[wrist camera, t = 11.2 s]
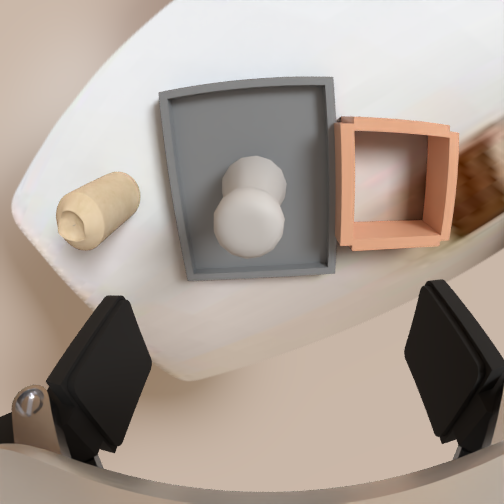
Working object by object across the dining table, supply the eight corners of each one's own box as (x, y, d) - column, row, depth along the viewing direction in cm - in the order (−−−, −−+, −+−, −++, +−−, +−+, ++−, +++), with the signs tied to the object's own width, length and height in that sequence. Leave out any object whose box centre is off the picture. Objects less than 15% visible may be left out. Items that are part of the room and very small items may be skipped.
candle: (106, 222, 32) (60, 261, 23) (93, 177, 30) (39, 205, 21) (146, 213, 31) (105, 253, 22) (133, 165, 29) (84, 189, 20)
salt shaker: (265, 220, 30) (264, 290, 19) (215, 192, 29) (181, 247, 18) (295, 171, 28) (318, 214, 16) (244, 141, 27) (227, 161, 15)
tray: (328, 79, 25) (333, 76, 23) (331, 264, 33) (335, 273, 31) (165, 93, 26) (158, 92, 24) (191, 271, 34) (187, 280, 33)
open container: (436, 123, 25) (459, 126, 21) (429, 229, 31) (447, 245, 27) (329, 116, 26) (340, 116, 22) (330, 233, 32) (340, 251, 28)
